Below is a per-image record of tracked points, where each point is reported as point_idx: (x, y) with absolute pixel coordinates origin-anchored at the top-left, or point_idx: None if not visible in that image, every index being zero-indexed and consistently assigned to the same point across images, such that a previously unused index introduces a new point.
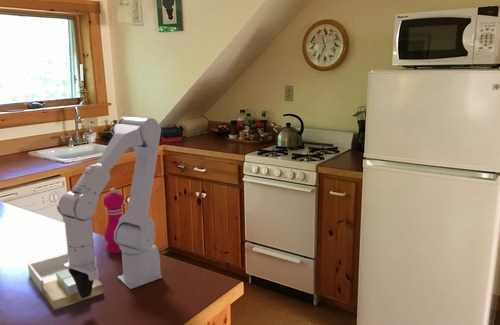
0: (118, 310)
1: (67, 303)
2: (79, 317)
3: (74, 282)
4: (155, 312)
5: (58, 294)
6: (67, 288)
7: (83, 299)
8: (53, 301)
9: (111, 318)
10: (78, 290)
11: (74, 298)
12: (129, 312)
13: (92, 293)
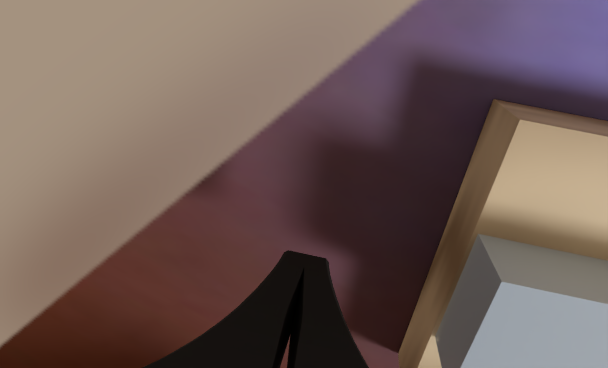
0: (190, 301)
1: (465, 188)
2: (280, 155)
3: (509, 338)
4: (70, 365)
5: (569, 194)
6: (519, 266)
7: (430, 268)
8: (518, 119)
9: (148, 246)
10: (311, 283)
11: (454, 240)
12: (140, 316)
13: (417, 325)
